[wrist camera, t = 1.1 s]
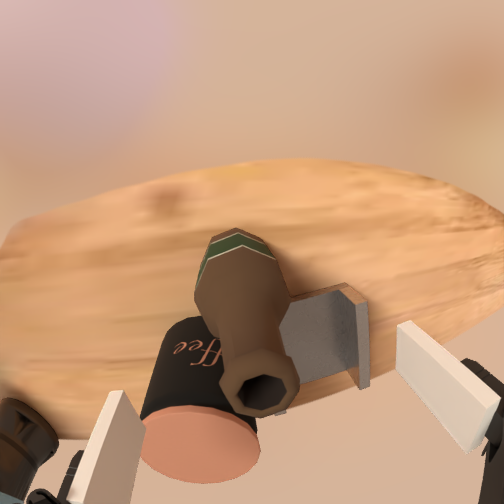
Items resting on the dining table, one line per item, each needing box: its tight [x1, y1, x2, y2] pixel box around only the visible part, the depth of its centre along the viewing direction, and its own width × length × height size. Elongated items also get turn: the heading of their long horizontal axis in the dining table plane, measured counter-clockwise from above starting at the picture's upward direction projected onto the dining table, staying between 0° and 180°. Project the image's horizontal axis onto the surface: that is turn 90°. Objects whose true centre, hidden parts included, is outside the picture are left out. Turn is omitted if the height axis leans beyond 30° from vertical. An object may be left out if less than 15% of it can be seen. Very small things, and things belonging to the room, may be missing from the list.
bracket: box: [275, 283, 370, 416], centre depth 36 cm, size 13×13×6 cm
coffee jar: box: [140, 316, 261, 484], centre depth 29 cm, size 11×11×18 cm
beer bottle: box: [194, 228, 300, 418], centre depth 24 cm, size 8×8×24 cm
